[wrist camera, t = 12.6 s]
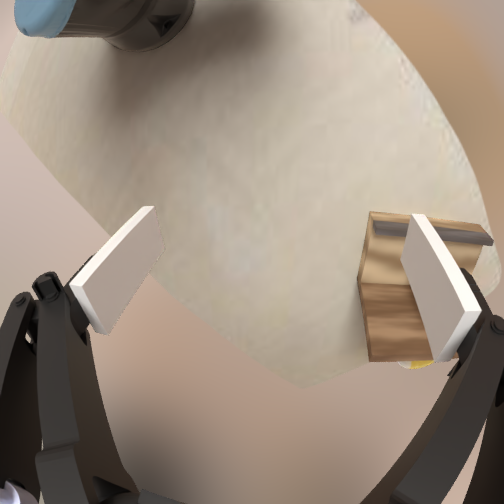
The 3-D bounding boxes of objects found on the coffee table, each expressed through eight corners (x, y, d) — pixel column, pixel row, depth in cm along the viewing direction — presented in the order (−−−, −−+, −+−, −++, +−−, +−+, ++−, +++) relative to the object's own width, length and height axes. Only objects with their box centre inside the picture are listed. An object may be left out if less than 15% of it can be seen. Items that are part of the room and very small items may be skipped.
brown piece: (369, 211, 41) (398, 286, 26) (479, 224, 37) (531, 290, 22) (356, 278, 48) (369, 361, 33) (458, 283, 44) (490, 354, 30)
